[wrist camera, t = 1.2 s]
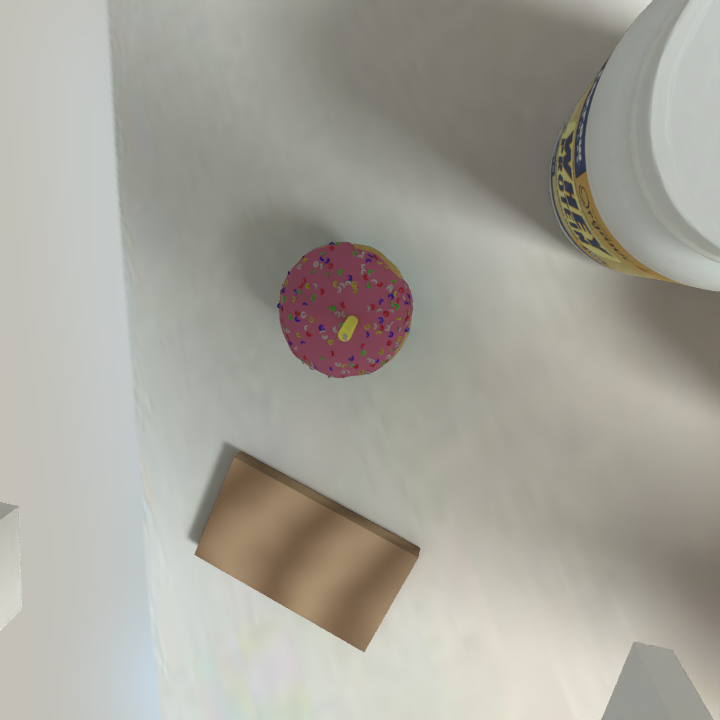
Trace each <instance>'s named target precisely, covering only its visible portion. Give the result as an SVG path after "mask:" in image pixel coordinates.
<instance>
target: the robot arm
mask: <svg viewBox="0 0 720 720" xmlns="http://www.w3.org/2000/svg"><path fill="white" fill-rule="evenodd" d="M21 609H22V595H21V562H20V527H19V506H15V505H10V504H6V503H1V502H0V630H1V629H2V628H3V627H4V626H5V625H6V624H7V623H8V622H9V621H10V620H11V619H12V618H13V617H14V616H15V615H16V614H17V613H18V612H19V611H20V610H21ZM602 720H713V718H712V716H711V715H710V713H709V711H708V710H707V708H706V706H705V705H704V703H703V701H702V699H701V698H700V696H699V694H698V693H697V691H696V689H695V688H694V686H693V684H692V682H691V681H690V679H689V677H688V676H687V674H686V672H685V671H684V669H683V667H682V665H681V664H680V662H679V660H678V659H677V657H676V655H675V654H674V652H673V650H669V649H665V648H660V647H656V646H651V645H647V644H642V643H638V642H634V643H633V645H632V648H631V650H630V652H629V655H628V657H627V660H626V662H625V664H624V667H623V669H622V672H621V674H620V676H619V679H618V681H617V684H616V686H615V688H614V691H613V693H612V696H611V698H610V700H609V703H608V705H607V708H606V710H605V712H604V715H603V717H602Z"/></svg>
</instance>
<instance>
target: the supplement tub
mask: <svg viewBox="0 0 720 720" xmlns="http://www.w3.org/2000/svg"><path fill="white" fill-rule="evenodd" d="M550 195H551V201H552V205H553V209H554V212H555V215H556V218H557V220H558V223H559V225H560V227H561V229H562V230H563V232H564V233H565V235H566V236H567V238H568V239H569V240H570V241H571V243H572V244H573V245H574V246H575V247H576V248H577V249H578V250H579V251H580V252H581V253H582V254H584V255H585V256H586V257H588V258H589V259H590V260H592V261H594V262H595V263H597V264H599V265H601V266H603V267H605V268H607V269H610V270H612V271H615V272H619V273H622V274H627V275H632V276H640V277H645V278H650V279H656V280H661V281H667V282H672V283H678V284H683V285H688V286H692V287H696V288H700V289H706V290H711V291H719V292H720V0H653V1H652V2H651V3H650V4H649V5H648V6H647V8H646V9H645V10H644V11H643V12H642V13H641V14H640V15H639V16H638V17H637V19H636V20H635V21H634V22H633V24H632V25H631V26H630V27H629V28H628V30H627V31H626V33H625V34H624V35H623V37H622V38H621V40H620V41H619V43H618V44H617V46H616V48H615V49H614V51H613V53H612V55H611V56H610V57H609V59H608V60H607V62H606V63H605V64H604V66H603V67H602V69H601V70H600V72H599V73H598V74H597V76H596V77H595V79H594V80H593V82H592V83H591V85H590V86H589V87H588V89H587V90H586V92H585V93H584V95H583V96H582V98H581V99H580V101H579V102H578V103H577V104H576V106H575V107H574V108H573V110H572V111H571V113H570V114H569V116H568V117H567V119H566V121H565V122H564V124H563V126H562V128H561V130H560V132H559V135H558V137H557V140H556V143H555V146H554V149H553V153H552V158H551V163H550Z"/></svg>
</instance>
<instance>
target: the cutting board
mask: <svg viewBox="0 0 720 720" xmlns="http://www.w3.org/2000/svg"><path fill="white" fill-rule="evenodd" d="M419 551H420V548H418V547H417V546H415V545H413V544H411V543H409V542H407V541H405V540H404V539H402V538H400V537H398V536H396V535H394V534H393V533H391V532H389V531H387V530H385V529H383V528H381V527H380V526H378V525H376V524H374V523H372V522H370V521H369V520H367V519H365V518H363V517H361V516H359V515H357V514H356V513H354V512H352V511H350V510H348V509H346V508H345V507H343V506H341V505H339V504H337V503H335V502H333V501H332V500H330V499H328V498H326V497H324V496H322V495H321V494H319V493H317V492H315V491H313V490H311V489H309V488H308V487H306V486H304V485H302V484H300V483H298V482H297V481H295V480H293V479H291V478H289V477H287V476H285V475H284V474H282V473H280V472H278V471H276V470H274V469H272V468H271V467H269V466H267V465H265V464H263V463H261V462H260V461H258V460H256V459H254V458H252V457H250V456H248V455H247V454H245V453H243V452H239V453H238V454H237V455H236V456H235V457H234V458H233V461H232V463H231V466H230V468H229V471H228V473H227V476H226V478H225V480H224V483H223V485H222V488H221V490H220V493H219V495H218V498H217V500H216V503H215V505H214V508H213V510H212V512H211V515H210V517H209V520H208V522H207V525H206V527H205V530H204V532H203V535H202V537H201V540H200V542H199V545H198V547H197V549H196V552H195V554H194V555H196V556H198V557H199V558H201V559H203V560H205V561H206V562H208V563H210V564H212V565H213V566H215V567H217V568H219V569H220V570H222V571H224V572H226V573H227V574H229V575H231V576H232V577H234V578H236V579H238V580H239V581H241V582H243V583H245V584H246V585H248V586H250V587H252V588H253V589H255V590H257V591H259V592H260V593H262V594H264V595H266V596H267V597H269V598H271V599H273V600H274V601H276V602H278V603H279V604H281V605H283V606H285V607H286V608H288V609H290V610H292V611H293V612H295V613H297V614H299V615H300V616H302V617H304V618H306V619H307V620H309V621H311V622H313V623H314V624H316V625H318V626H319V627H321V628H323V629H325V630H326V631H328V632H330V633H332V634H333V635H335V636H337V637H339V638H340V639H342V640H344V641H346V642H347V643H349V644H351V645H353V646H354V647H356V648H358V649H359V650H361V651H363V652H365V650H366V648H367V646H368V645H369V643H370V641H371V639H372V638H373V636H374V634H375V632H376V631H377V629H378V627H379V625H380V624H381V622H382V620H383V618H384V617H385V615H386V613H387V611H388V610H389V608H390V606H391V604H392V603H393V601H394V599H395V597H396V596H397V594H398V592H399V590H400V589H401V587H402V585H403V583H404V582H405V580H406V578H407V576H408V575H409V573H410V571H411V569H412V568H413V566H414V564H415V562H416V561H417V559H418V556H419Z"/></svg>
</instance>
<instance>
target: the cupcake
mask: <svg viewBox="0 0 720 720" xmlns="http://www.w3.org/2000/svg"><path fill="white" fill-rule="evenodd" d="M282 286H283V288H282V290H281V292H280V294H281V295H280V303H279V304H278V305H277V307H278V308H279V314H280V324H281V328H282V331H283V334H284V336H285V338H286V340H287V342H288V345H289V347H290V349H291V351H292V352H293V354H294V355H295V356H296V357H297V358H299V359H300V360H301V361H302V363H303V364H304V363H305V364H307V365H308V366H309V368H310V369H312V368H313V369H315V370H317V371H319V372H321V373H323V374H326V375H328V377H329V378H330V377H335V378H344V377H349V376H355V375H363V374H370V373H372V372H374V371H376V370H378V369H379V368H380V367H382V366H383V365H384V364H386V363H387V362H389V361H390V360H391V359H392V358H393V357H394V356H395V355H396V354H397V353H398V351H399V350H400V348H401V347H402V345H403V344H404V342H405V340H406V338H407V336H408V334H409V331H410V325H411V316H412V311H413V300H412V295H411V291H410V289H409V286H408V285H407V283H406V282H405V281H404V280H403V278H402V276H401V274H400V272H399V270H398V269H397V268H396V266H395V265H394V264H393V263H391V262H390V261H389V260H388V259H387V258H386V257H385V256H384V255H383V254H382V253H381V252H379V251H378V250H376V249H374V248H372V247H369V246H365V245H359V244H351V243H348V242H336V243H333V242H331V243H330V244H329V245H324V246H321V247H319V248H317V249H314V250H312V251H310V252H309V253H307V254H306V255H304V256H303V257H302V259H301V260H300V261H299V262H298V263H297V264H296V265H295V266H294V267H293V268H292V270H291V271H290V272H289V271H288V276H287V278H286V280H285V282H284V284H282ZM279 305H280V307H279ZM313 369H312V370H313Z"/></svg>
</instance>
